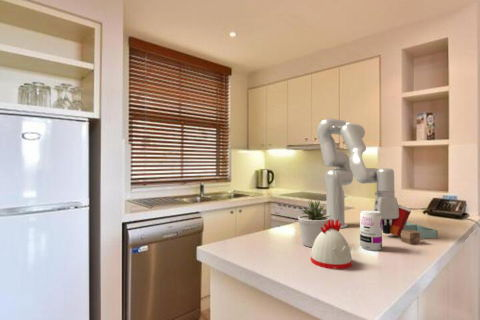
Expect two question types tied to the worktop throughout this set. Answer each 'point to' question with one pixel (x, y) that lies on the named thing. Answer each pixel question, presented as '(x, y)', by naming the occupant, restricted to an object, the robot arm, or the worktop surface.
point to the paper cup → (400, 220)
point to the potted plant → (312, 223)
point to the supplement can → (370, 230)
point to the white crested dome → (331, 248)
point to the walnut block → (410, 237)
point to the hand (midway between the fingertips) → (386, 233)
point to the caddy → (422, 230)
